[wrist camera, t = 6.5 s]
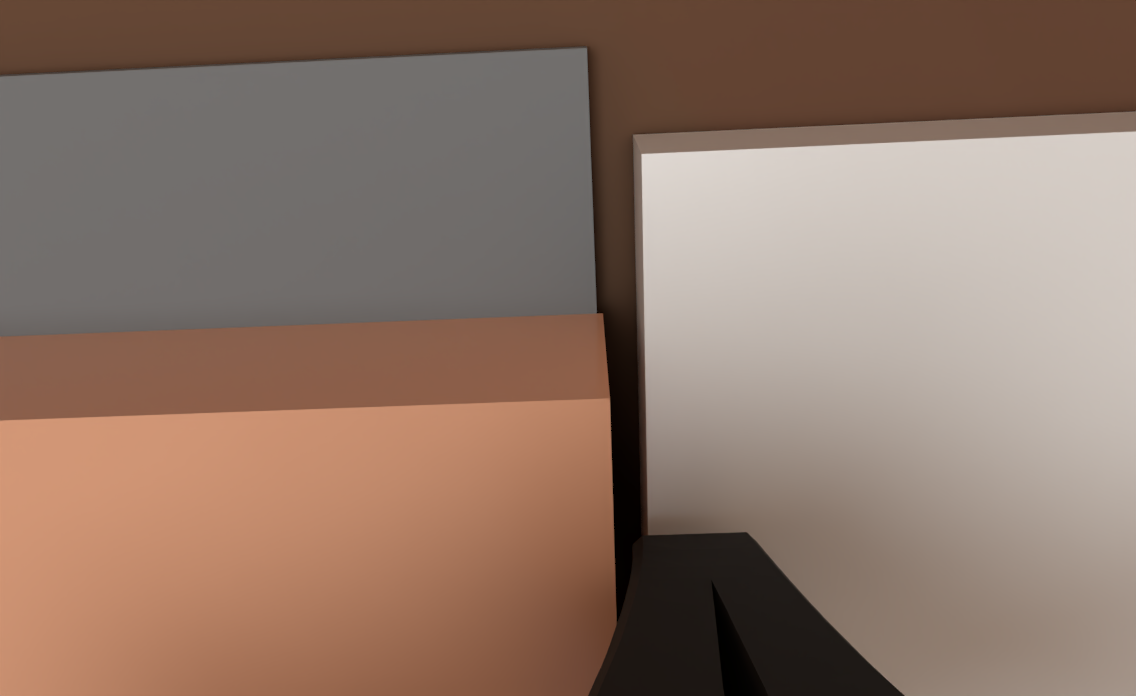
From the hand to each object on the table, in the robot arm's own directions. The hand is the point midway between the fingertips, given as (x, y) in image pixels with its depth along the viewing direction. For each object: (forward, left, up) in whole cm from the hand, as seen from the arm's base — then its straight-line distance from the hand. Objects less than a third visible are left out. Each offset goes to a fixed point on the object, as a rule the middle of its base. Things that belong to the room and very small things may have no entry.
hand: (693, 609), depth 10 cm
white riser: (0, -5, -2) cm, 5 cm away
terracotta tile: (0, +5, -2) cm, 5 cm away
